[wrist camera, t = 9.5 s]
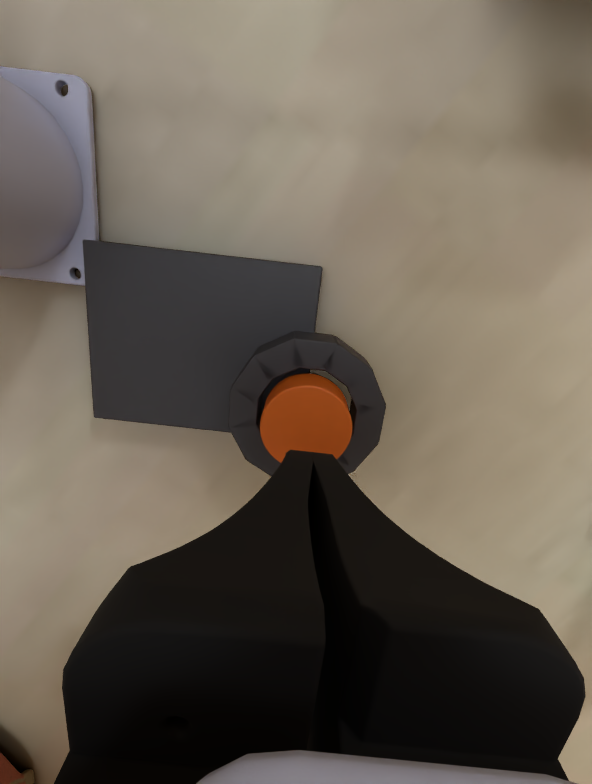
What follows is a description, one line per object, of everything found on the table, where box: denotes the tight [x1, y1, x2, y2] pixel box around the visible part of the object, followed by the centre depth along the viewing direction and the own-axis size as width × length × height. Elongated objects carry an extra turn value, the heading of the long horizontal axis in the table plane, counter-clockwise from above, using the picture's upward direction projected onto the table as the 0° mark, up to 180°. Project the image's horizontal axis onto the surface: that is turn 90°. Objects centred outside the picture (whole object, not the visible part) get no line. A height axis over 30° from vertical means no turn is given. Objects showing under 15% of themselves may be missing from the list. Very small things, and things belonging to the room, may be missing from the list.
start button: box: [260, 373, 352, 463], centre depth 16 cm, size 4×4×2 cm
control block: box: [82, 239, 386, 476], centre depth 17 cm, size 13×9×4 cm
